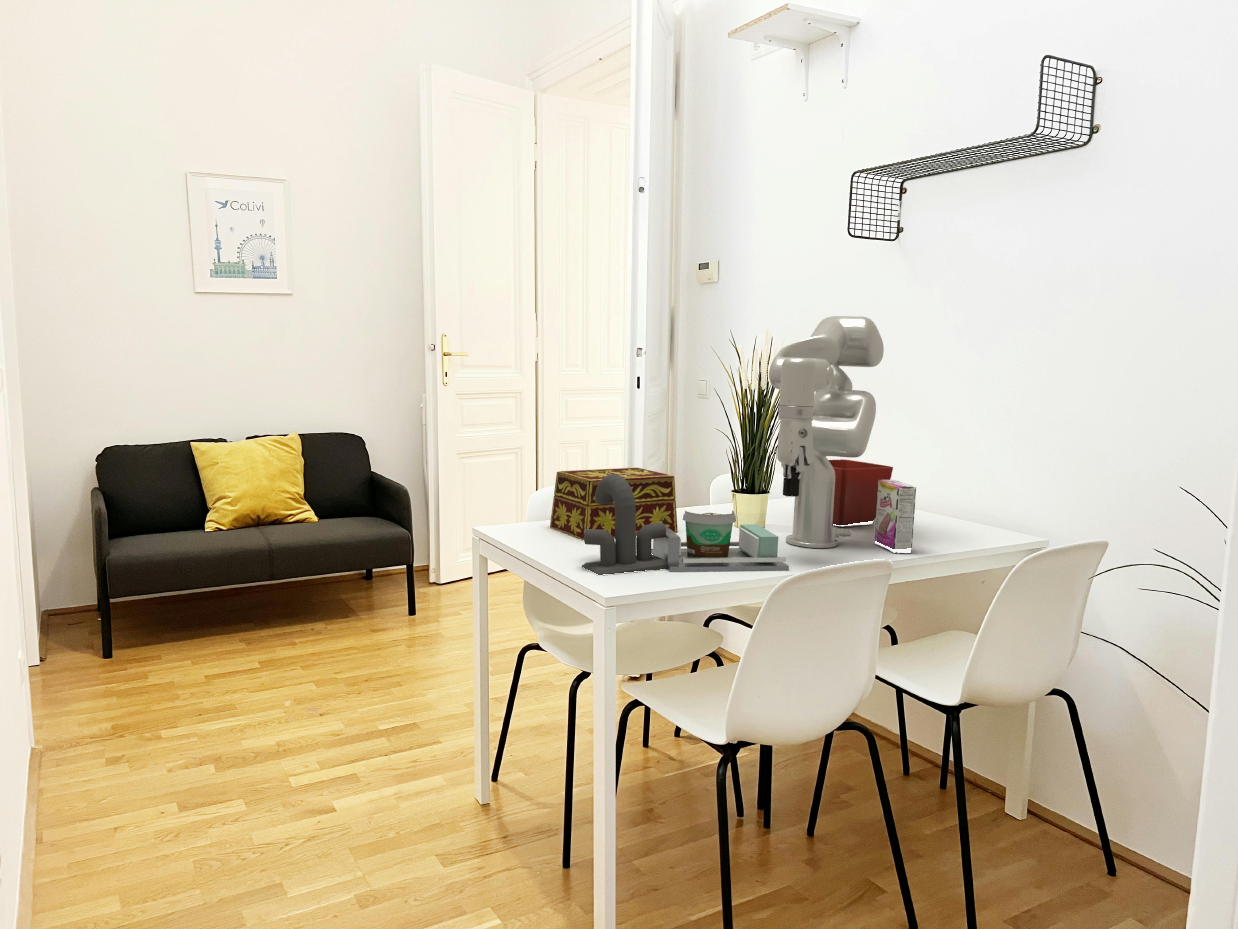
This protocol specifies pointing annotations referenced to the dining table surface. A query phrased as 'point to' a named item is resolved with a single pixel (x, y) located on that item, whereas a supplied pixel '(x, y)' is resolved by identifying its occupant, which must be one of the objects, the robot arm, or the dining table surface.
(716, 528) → the food container
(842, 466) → the plant pot
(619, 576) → the dining table surface
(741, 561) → the vise bed
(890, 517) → the candy bar box
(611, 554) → the faucet
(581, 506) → the decorative box
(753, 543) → the block
